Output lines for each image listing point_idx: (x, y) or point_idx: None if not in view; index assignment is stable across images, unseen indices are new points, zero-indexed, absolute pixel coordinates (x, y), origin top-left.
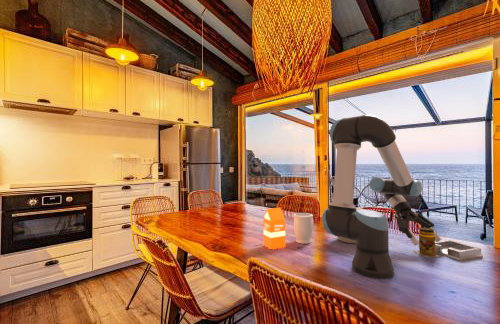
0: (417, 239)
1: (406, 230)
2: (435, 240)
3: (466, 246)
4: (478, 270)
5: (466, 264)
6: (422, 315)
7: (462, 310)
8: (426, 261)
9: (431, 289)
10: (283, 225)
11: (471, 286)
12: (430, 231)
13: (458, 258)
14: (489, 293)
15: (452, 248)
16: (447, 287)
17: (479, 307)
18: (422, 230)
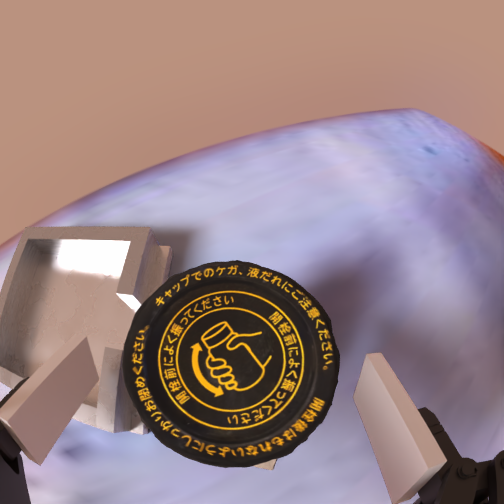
0: (377, 373)
1: (459, 466)
2: (92, 386)
3: (15, 282)
4: (228, 170)
5: (199, 213)
6: (493, 152)
7: (445, 129)
8: (356, 302)
9: (462, 171)
10: None
11: (369, 139)
12: (266, 269)
13: (170, 248)
14: (357, 118)
15: (38, 344)
16: (428, 159)
17: (416, 119)
18: (338, 358)
